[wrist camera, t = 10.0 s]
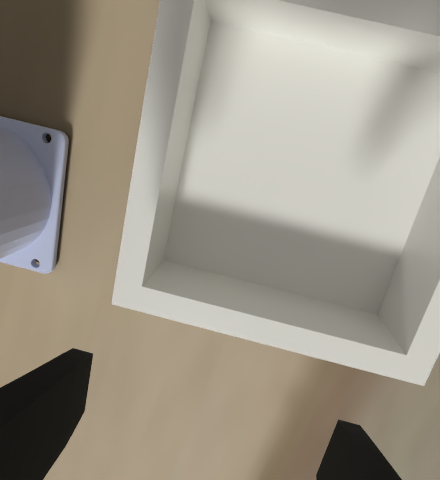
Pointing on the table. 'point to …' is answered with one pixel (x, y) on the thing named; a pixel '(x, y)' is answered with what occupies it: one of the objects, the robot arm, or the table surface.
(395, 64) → the white square dish
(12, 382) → the robot arm
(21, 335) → the table surface
